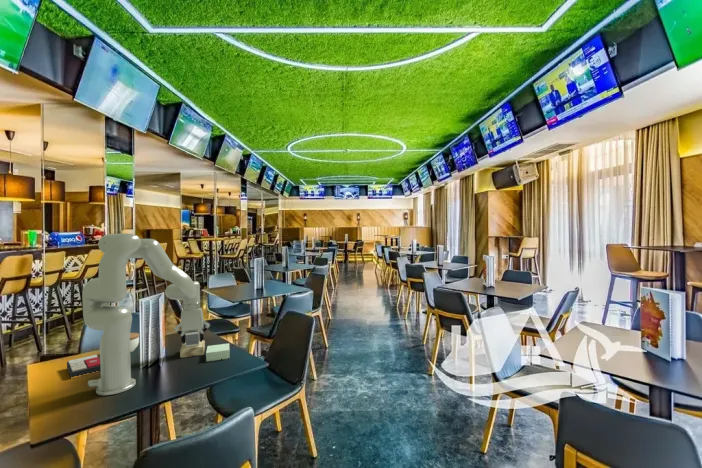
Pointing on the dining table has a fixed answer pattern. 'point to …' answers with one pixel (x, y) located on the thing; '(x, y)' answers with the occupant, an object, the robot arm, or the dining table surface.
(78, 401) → the dining table surface
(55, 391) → the dining table surface
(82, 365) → the red and grey box
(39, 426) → the dining table surface
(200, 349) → the stand
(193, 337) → the block
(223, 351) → the stand
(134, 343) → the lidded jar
